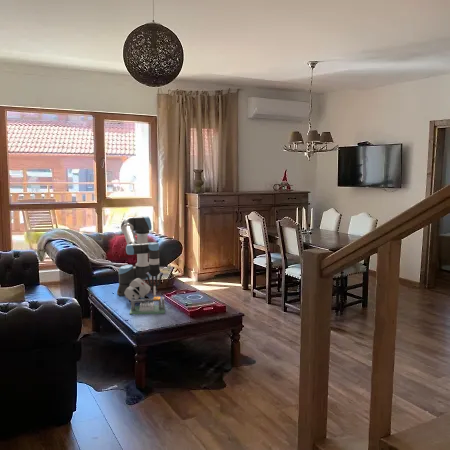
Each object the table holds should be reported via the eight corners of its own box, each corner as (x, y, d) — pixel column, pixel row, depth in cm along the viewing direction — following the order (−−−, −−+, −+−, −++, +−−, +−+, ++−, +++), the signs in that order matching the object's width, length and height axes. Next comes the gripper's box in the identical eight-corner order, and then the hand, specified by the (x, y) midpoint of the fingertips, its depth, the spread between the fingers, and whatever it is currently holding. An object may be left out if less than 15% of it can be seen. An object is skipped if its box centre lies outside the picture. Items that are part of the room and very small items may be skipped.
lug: (158, 307, 345) (158, 297, 344) (164, 307, 346) (164, 296, 345) (158, 309, 339) (158, 299, 338) (164, 309, 340) (164, 299, 339)
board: (131, 307, 348) (131, 306, 348) (164, 306, 351) (164, 304, 351) (129, 314, 332) (129, 313, 332) (164, 313, 335) (164, 311, 335)
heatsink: (140, 306, 347) (140, 299, 346) (154, 306, 348) (153, 299, 347) (139, 311, 335) (139, 304, 334) (153, 311, 336) (153, 304, 335)
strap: (132, 300, 342) (132, 298, 342) (160, 299, 345) (160, 296, 344) (131, 303, 336) (131, 300, 336) (160, 301, 339) (160, 298, 338)
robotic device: (141, 314, 354) (154, 295, 350) (119, 297, 356) (132, 278, 352) (146, 310, 364) (159, 291, 360) (125, 294, 366) (138, 274, 362)
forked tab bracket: (131, 308, 343) (131, 297, 342) (135, 307, 344) (134, 297, 342) (131, 310, 337) (130, 300, 336) (134, 310, 337) (134, 300, 336)
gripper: (144, 265, 333) (145, 296, 336) (163, 264, 334) (163, 296, 338) (145, 262, 340) (146, 293, 344) (163, 262, 342) (163, 293, 345)
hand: (154, 294), depth 341 cm, fingers closed
